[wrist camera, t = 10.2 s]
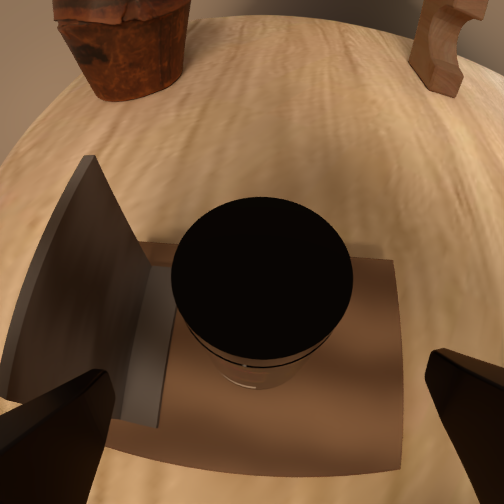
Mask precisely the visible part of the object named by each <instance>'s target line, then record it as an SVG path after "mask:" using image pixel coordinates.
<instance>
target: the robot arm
mask: <svg viewBox="0 0 504 504" xmlns="http://www.w3.org/2000/svg"><path fill="white" fill-rule="evenodd" d="M425 382H426V384H427V387H428V389H429V392H430V394H431V397H432V399H433V402H434V404H435V407H436V409H437V412H438V414H439V417H440V419H441V421H442V423H443V426H444V428H445V430H446V431H447V433H448V435H449V437H450V439H451V441H452V443H453V445H454V447H455V450H456V452H457V454H458V456H459V458H460V460H461V462H462V464H463V466H464V468H465V471H466V473H467V475H468V477H469V479H470V482H471V484H472V486H473V488H474V491H475V493H476V495H477V498H478V500H479V502H480V504H504V368H502V367H499V366H496V365H493V364H490V363H487V362H484V361H481V360H478V359H475V358H472V357H469V356H466V355H463V354H460V353H457V352H454V351H452V350H449V349H446V348H441V349H437V350H433V351H432V352H431V354H430V356H429V360H428V364H427V368H426V371H425ZM115 400H116V395H115V391H114V388H113V385H112V382H111V378H110V375H109V373H108V371H106V370H105V369H95V368H94V369H91V370H89V371H87V372H85V373H83V374H82V375H80V376H78V377H76V378H74V379H72V380H70V381H68V382H66V383H64V384H62V385H60V386H58V387H56V388H54V389H52V390H50V391H48V392H46V393H44V394H42V395H40V396H38V397H36V398H34V399H32V400H30V401H28V402H26V403H24V404H22V405H20V406H18V407H16V408H14V409H12V410H10V411H8V412H6V413H4V414H2V415H0V504H86V503H87V499H88V496H89V493H90V490H91V486H92V483H93V480H94V477H95V474H96V471H97V468H98V465H99V462H100V459H101V456H102V453H103V450H104V447H105V444H106V440H107V436H108V431H109V426H110V422H111V418H112V413H113V409H114V405H115Z"/></svg>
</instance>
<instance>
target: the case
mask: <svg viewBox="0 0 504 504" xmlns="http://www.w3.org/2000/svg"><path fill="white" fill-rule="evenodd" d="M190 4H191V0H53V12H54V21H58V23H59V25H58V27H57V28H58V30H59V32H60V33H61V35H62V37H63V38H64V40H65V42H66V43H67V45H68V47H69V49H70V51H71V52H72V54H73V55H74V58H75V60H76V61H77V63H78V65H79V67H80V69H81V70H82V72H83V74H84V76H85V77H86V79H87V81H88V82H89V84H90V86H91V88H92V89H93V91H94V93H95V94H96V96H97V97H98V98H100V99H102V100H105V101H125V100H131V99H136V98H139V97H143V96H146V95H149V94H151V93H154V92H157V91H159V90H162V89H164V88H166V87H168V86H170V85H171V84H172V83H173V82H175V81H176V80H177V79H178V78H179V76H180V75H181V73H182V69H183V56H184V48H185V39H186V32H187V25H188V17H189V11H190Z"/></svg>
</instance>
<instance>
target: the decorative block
mask: <svg viewBox="0 0 504 504" xmlns="http://www.w3.org/2000/svg"><path fill="white" fill-rule="evenodd" d="M487 4H488V0H424V2H423V6H422V11H421V15H420V19H419V23H418V28H417V31H416V35H415V39H414V43H413V47H412V50H411V54H410V58H409V61H408V62H409V63H410V65H411V66H412V67H413V69H414V70H415V71H416V73H417V74H418V75H419V77H420V78H421V79H422V81H423V82H424V84H425V85H426V86H427V88H428V89H429V91H433V92H436V93H439V94H443V95H446V96H449V97H452V98H455V97H456V95H457V93H458V90H459V88H460V85H461V83H462V80H463V78H464V76H463V74H462V72H461V70H460V68H459V65H458V61H457V50H456V44H457V39H458V35H459V33H460V30H461V28H462V26H463V25H464V24H465V23H466V22H467V21H469V20H472V19H477V20H480V21H482V20H483V18H484V15H485V11H486V8H487Z"/></svg>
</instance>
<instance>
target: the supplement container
mask: <svg viewBox="0 0 504 504" xmlns="http://www.w3.org/2000/svg"><path fill="white" fill-rule="evenodd" d="M171 287H172V292H173V297H174V300H175V303H176V305H177V308H178V310H179V312H180V314H181V315H182V317H183V319H184V321H185V323H186V325H187V327H188V328H189V330H190V332H191V333H192V335H193V336H194V337H195V338H196V340H197V341H198V342H199V343H200V345H201V346H202V348H203V349H204V351H205V352H206V354H207V355H208V357H209V359H210V360H211V362H212V363H213V365H214V366H215V368H216V369H217V370H218V372H219V373H220V374H221V375H222V376H223V377H224V378H226V379H227V380H228V381H230V382H231V383H233V384H235V385H237V386H240V387H243V388H247V389H253V390H264V389H270V388H274V387H277V386H280V385H282V384H284V383H286V382H287V381H289V380H290V379H291V378H293V377H294V376H295V375H296V374H297V373H298V372H299V370H300V369H301V368H302V367H303V366H304V365H305V363H306V362H307V361H308V360H309V359H310V357H311V356H312V355H313V354H314V352H315V351H316V350H317V349H318V348H319V347H320V346H321V345H322V344H323V343H324V342H325V341H326V340H327V339H328V337H329V336H330V335H331V333H332V332H333V330H334V329H335V327H336V326H337V325H338V323H339V322H340V321H341V319H342V317H343V316H344V314H345V312H346V310H347V307H348V305H349V302H350V299H351V295H352V289H353V268H352V263H351V259H350V256H349V253H348V251H347V248H346V246H345V244H344V242H343V241H342V239H341V237H340V236H339V235H338V233H337V232H336V231H335V230H334V228H333V227H332V226H331V225H330V224H329V223H328V222H327V221H326V220H324V219H323V218H322V217H321V216H319V215H318V214H316V213H315V212H313V211H312V210H310V209H308V208H306V207H304V206H302V205H300V204H297V203H294V202H291V201H288V200H284V199H278V198H271V197H251V198H244V199H239V200H235V201H231V202H228V203H225V204H223V205H221V206H218V207H216V208H214V209H213V210H211V211H209V212H208V213H206V214H205V215H203V216H202V217H201V218H200V219H198V220H197V221H196V222H195V223H194V224H193V225H192V226H191V227H190V228H189V230H188V231H187V232H186V233H185V235H184V236H183V238H182V239H181V241H180V243H179V245H178V247H177V249H176V252H175V255H174V258H173V262H172V268H171Z"/></svg>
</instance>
